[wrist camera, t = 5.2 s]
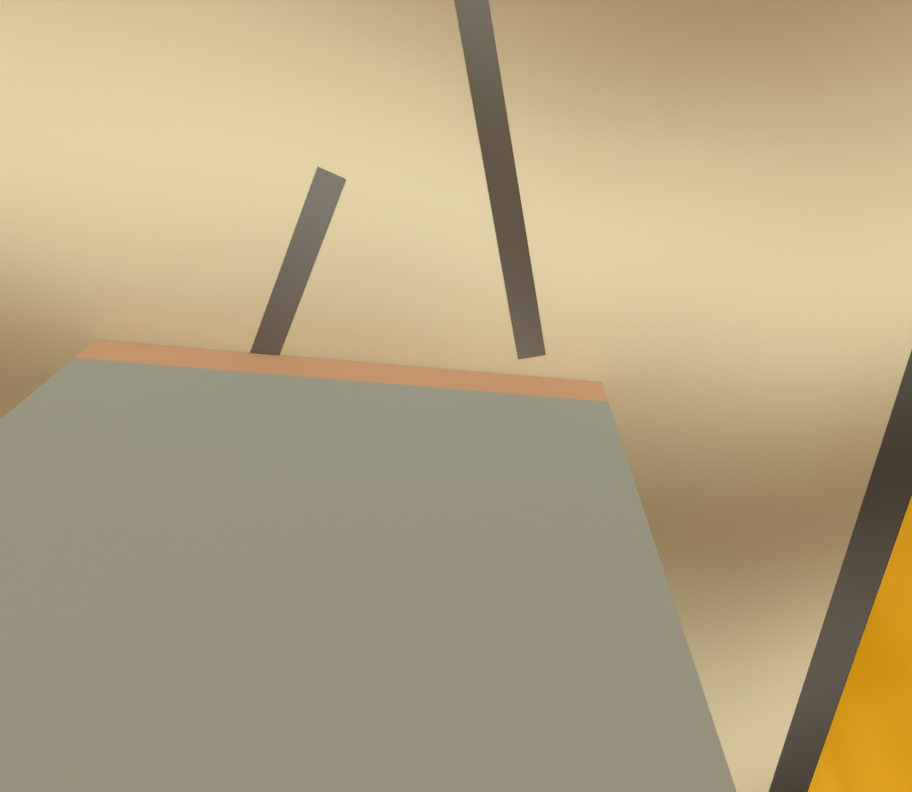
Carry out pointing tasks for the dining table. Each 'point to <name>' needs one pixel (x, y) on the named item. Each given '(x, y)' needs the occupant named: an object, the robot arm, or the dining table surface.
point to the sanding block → (333, 585)
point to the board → (523, 257)
